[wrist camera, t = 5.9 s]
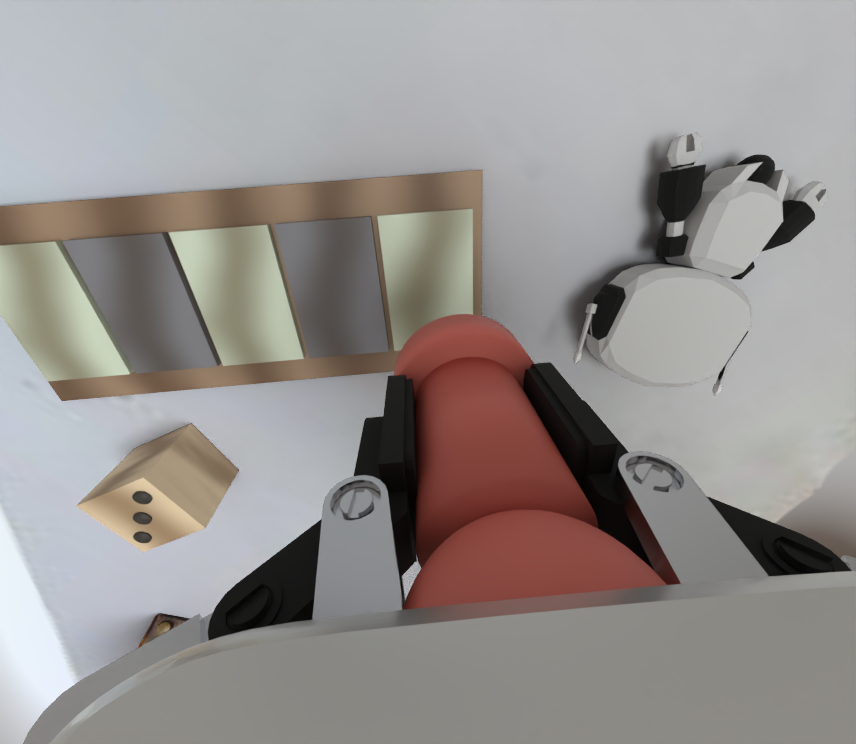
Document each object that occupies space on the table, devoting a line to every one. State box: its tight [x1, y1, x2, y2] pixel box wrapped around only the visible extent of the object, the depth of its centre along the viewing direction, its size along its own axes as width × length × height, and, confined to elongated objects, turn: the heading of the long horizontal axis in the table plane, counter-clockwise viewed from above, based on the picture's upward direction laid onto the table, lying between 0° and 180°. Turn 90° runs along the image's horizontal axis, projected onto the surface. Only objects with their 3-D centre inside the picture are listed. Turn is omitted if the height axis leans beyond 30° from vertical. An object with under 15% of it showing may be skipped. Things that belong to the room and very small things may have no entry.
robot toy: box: [573, 133, 828, 396], centre depth 23 cm, size 12×4×15 cm
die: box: [77, 424, 239, 552], centre depth 27 cm, size 6×6×6 cm
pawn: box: [394, 314, 667, 610], centre depth 8 cm, size 5×5×11 cm
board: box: [0, 170, 483, 401], centre depth 23 cm, size 32×13×1 cm, turn 94°
